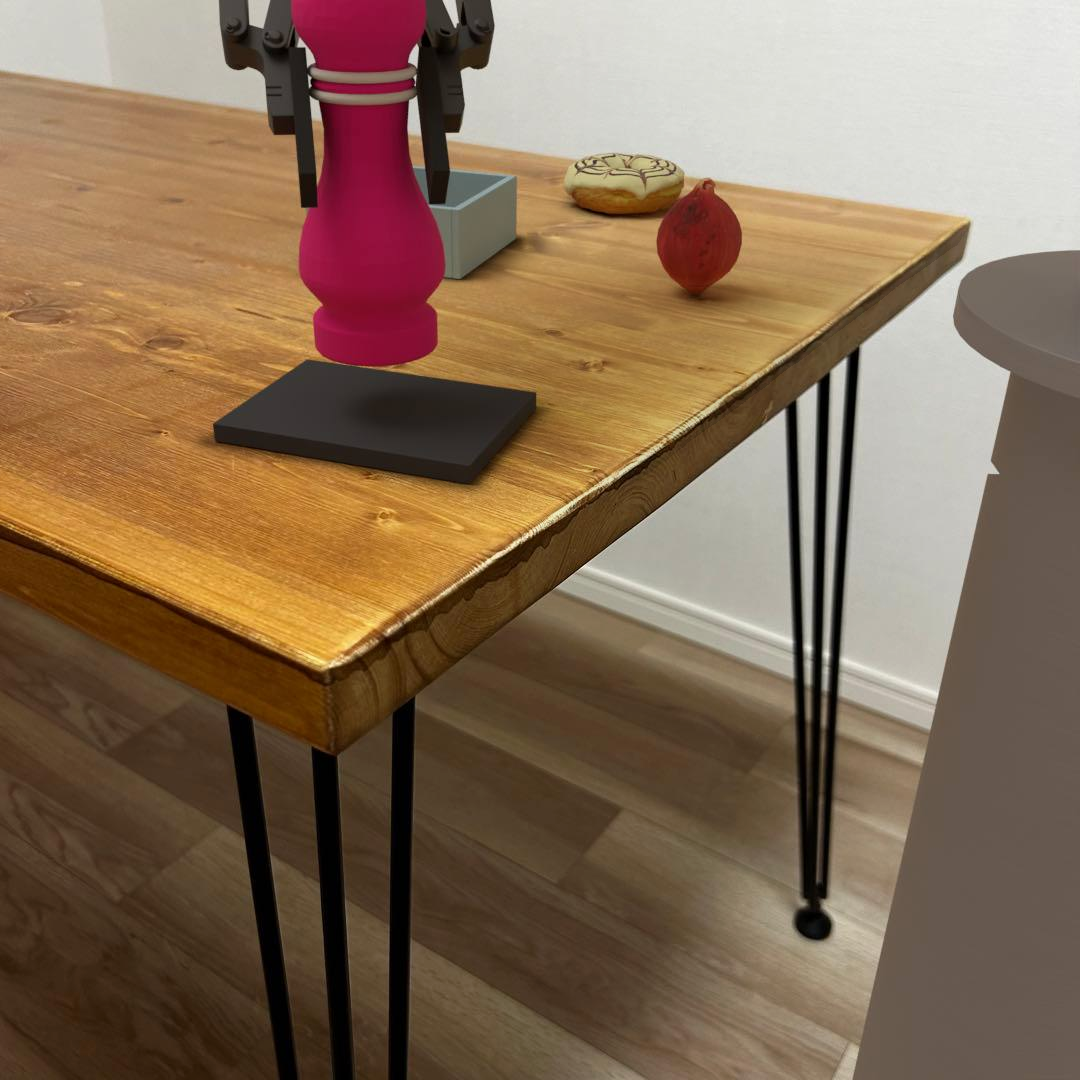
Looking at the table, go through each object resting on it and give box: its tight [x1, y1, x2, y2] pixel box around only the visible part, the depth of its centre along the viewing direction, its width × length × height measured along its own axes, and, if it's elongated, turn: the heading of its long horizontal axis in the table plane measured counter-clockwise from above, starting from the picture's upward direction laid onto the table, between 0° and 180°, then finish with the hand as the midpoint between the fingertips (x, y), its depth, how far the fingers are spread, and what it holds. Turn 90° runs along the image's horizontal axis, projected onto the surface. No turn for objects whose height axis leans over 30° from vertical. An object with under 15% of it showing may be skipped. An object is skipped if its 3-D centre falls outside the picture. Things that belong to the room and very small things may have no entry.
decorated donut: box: [563, 152, 685, 215], centre depth 107 cm, size 10×11×4 cm
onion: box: [655, 177, 743, 295], centre depth 82 cm, size 6×6×8 cm
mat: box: [212, 358, 537, 485], centre depth 63 cm, size 14×10×1 cm
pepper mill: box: [291, 0, 446, 368], centre depth 56 cm, size 7×7×20 cm
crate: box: [305, 165, 518, 280], centre depth 92 cm, size 12×12×5 cm
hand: (374, 188), depth 54 cm, fingers closed on pepper mill, 5 cm apart
